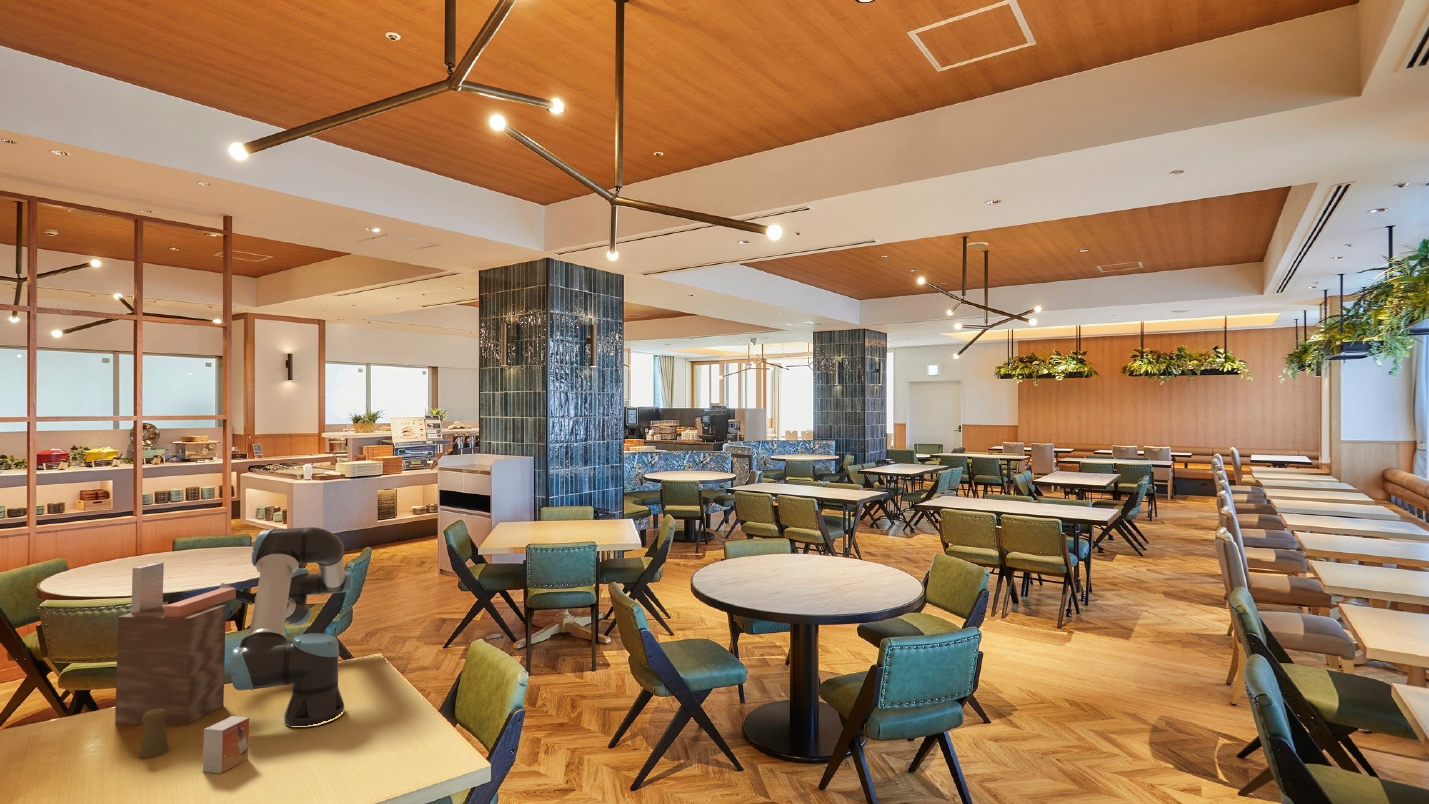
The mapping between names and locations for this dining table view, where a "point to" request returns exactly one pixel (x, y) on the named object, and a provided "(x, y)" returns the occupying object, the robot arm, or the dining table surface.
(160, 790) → the dining table surface
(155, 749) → the cork
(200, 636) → the wooden block pedestal
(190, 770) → the dining table surface
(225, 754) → the small box
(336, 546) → the robot arm
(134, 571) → the bookend
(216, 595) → the terracotta clay brick
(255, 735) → the dining table surface
